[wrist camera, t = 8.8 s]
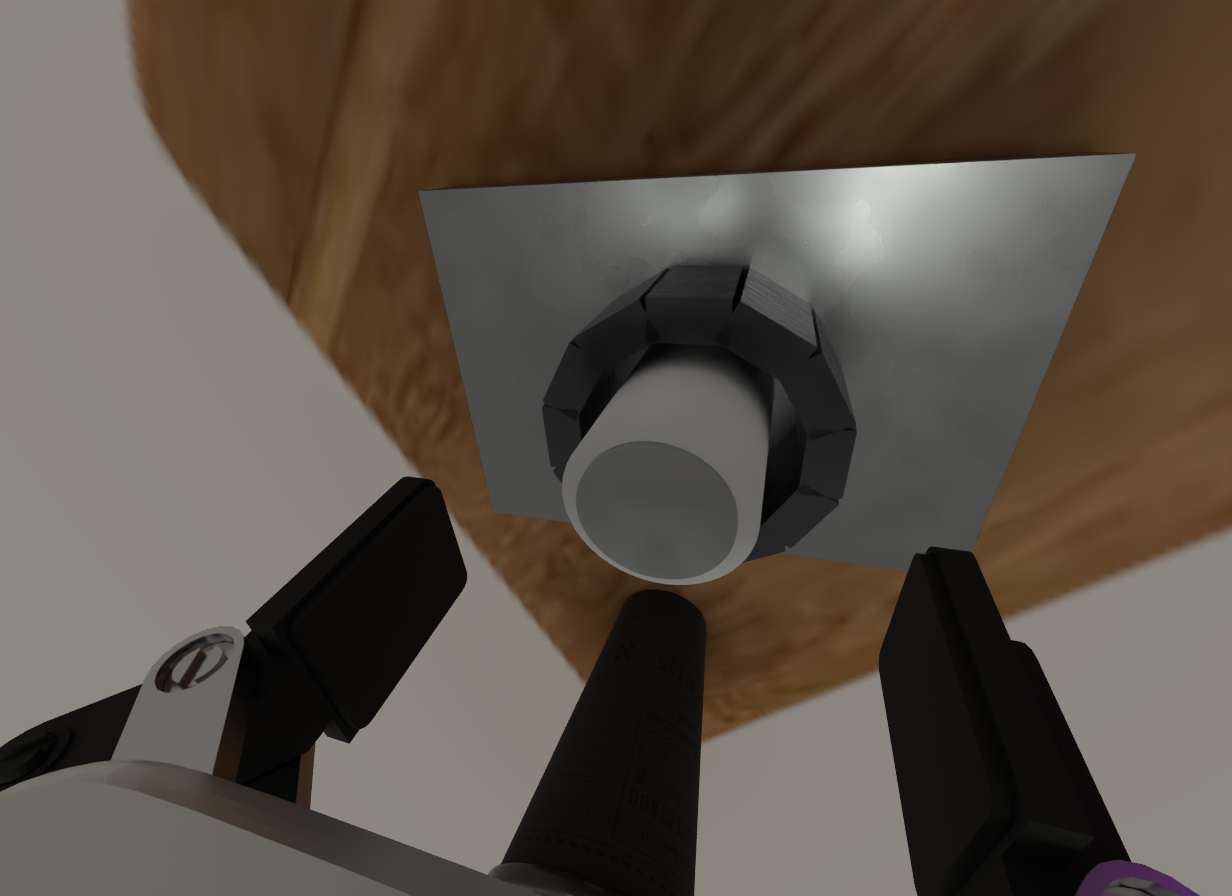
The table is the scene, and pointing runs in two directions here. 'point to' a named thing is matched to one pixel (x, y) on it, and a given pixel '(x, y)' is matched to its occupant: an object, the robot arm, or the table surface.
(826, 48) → the table surface
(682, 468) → the white cylinder
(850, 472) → the lens mount
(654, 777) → the drinking cup
